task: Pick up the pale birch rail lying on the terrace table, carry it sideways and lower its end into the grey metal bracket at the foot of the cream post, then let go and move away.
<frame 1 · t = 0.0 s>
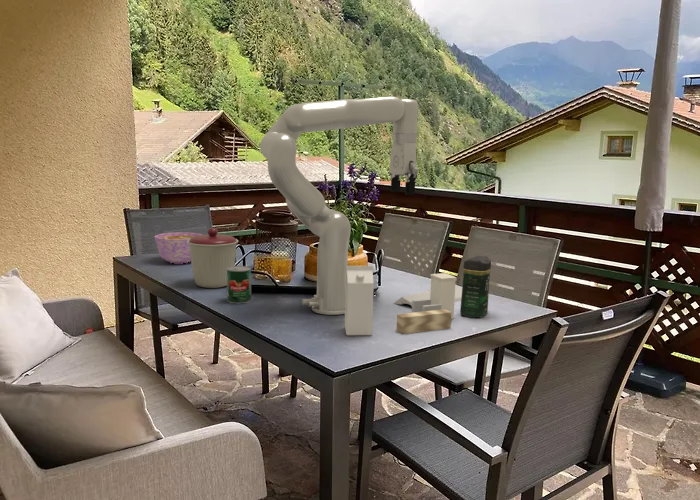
hand: (402, 193, 192), 37 cm above the table, tool pointing down, fingers open, 9 cm apart
headboard post: (434, 317, 183), on the table
canister: (213, 285, 217), on the table
crown molding: (434, 302, 204), on the table
milk carton: (358, 332, 168), on the table
bowl of food: (180, 262, 256), on the table
coffee jar: (474, 314, 188), on the table
canned tomato: (239, 301, 197), on the table
birch rail: (423, 329, 172), on the table
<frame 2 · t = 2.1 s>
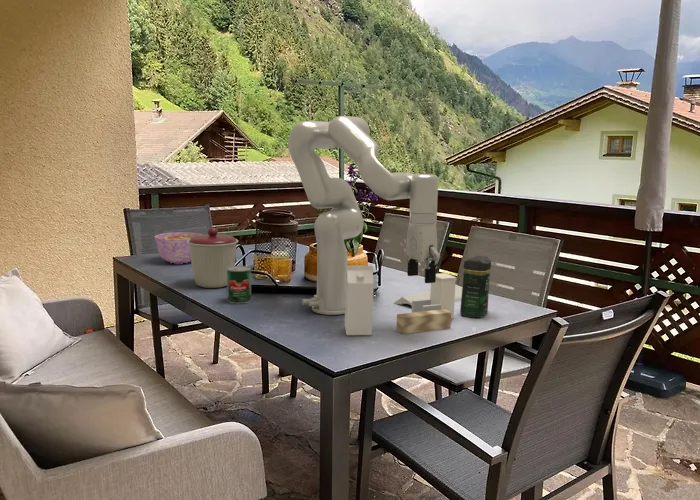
hand: (421, 279, 168), 15 cm above the table, tool pointing down, fingers open, 9 cm apart
nothing on the table moved.
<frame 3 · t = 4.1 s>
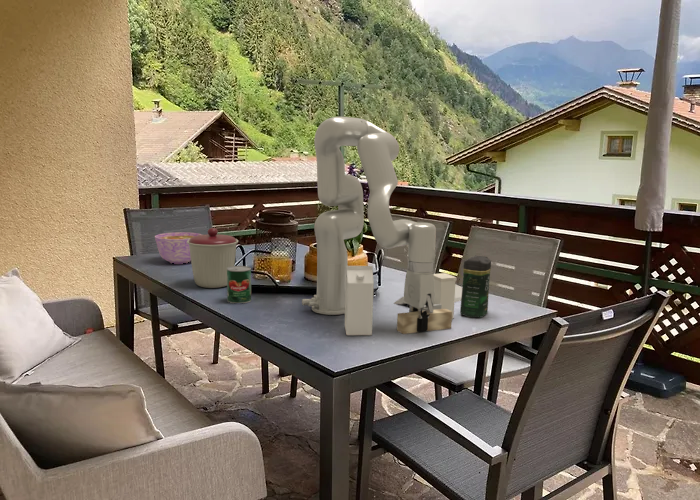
hand: (418, 328, 171), 0 cm above the table, tool pointing down, fingers closed on birch rail, 3 cm apart
birch rail: (424, 329, 171), on the table, touching gripper
everything else where it was.
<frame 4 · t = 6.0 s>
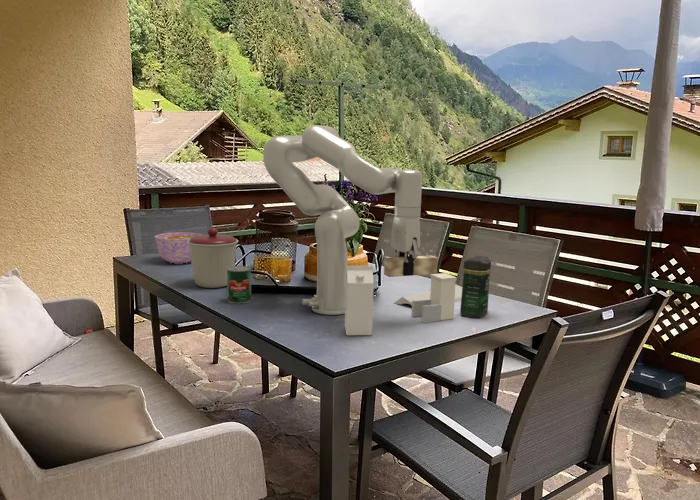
hand: (404, 273, 176), 15 cm above the table, tool pointing down, fingers closed on birch rail, 3 cm apart
birch rail: (410, 274, 177), point 14 cm above the table, touching gripper
everything else where it was.
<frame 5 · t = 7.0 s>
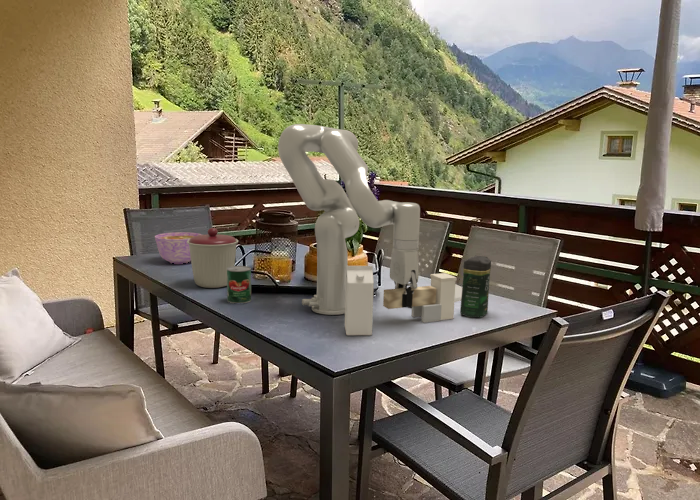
hand: (403, 304, 178), 5 cm above the table, tool pointing down, fingers closed on birch rail, 3 cm apart
birch rail: (409, 305, 179), point 5 cm above the table, touching gripper
everything else where it was.
when the fingers open (2 cm above the table, at t = 7.9 s): birch rail drops 2 cm, on the table.
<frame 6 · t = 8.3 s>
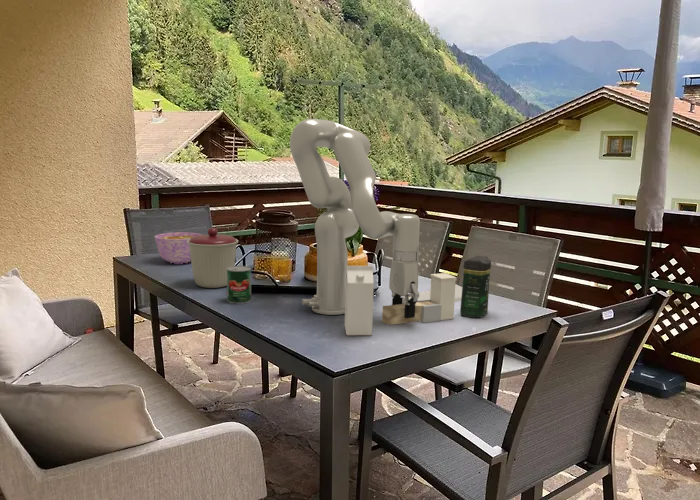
hand: (403, 313, 179), 2 cm above the table, tool pointing down, fingers open, 7 cm apart
birch rail: (408, 321, 180), on the table
everything else where it was.
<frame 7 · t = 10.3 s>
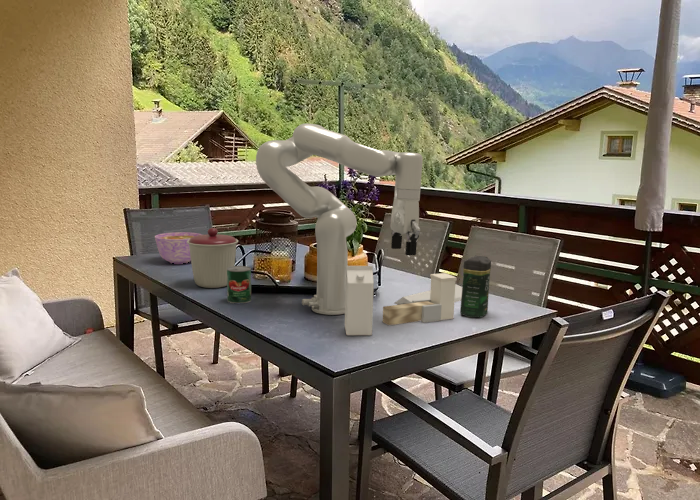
hand: (403, 251, 178), 21 cm above the table, tool pointing down, fingers open, 9 cm apart
nothing on the table moved.
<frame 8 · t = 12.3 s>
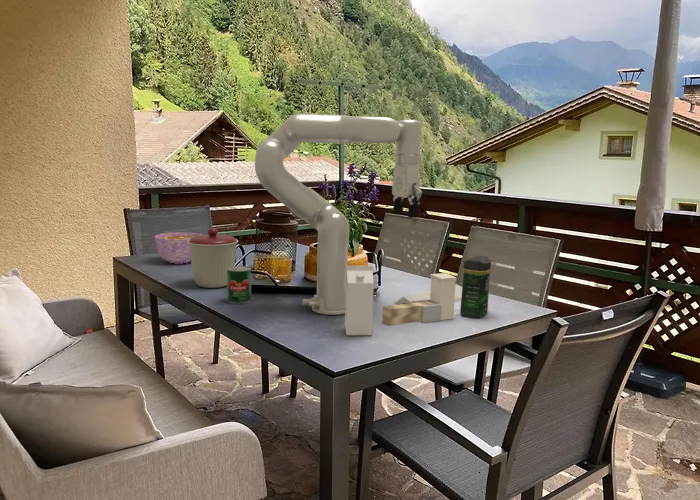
hand: (405, 215, 187), 30 cm above the table, tool pointing down, fingers open, 9 cm apart
nothing on the table moved.
at the end: birch rail 0.2 cm from the target spot on the table beside the headboard post, on the table; birch rail tilted 0°; the gripper is holding nothing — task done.
